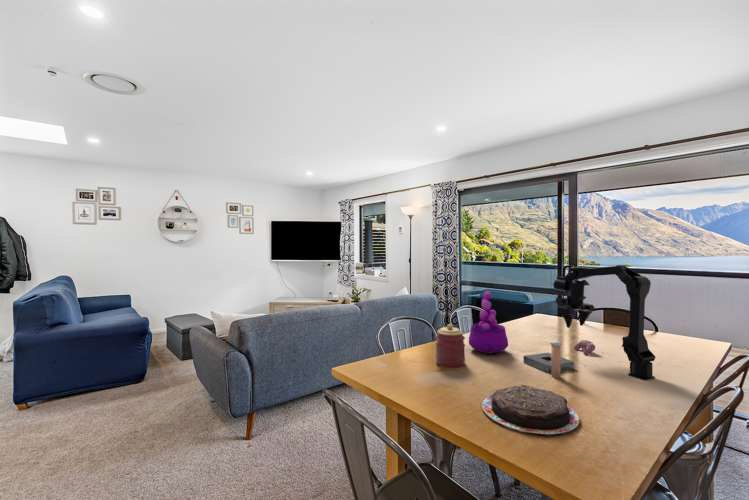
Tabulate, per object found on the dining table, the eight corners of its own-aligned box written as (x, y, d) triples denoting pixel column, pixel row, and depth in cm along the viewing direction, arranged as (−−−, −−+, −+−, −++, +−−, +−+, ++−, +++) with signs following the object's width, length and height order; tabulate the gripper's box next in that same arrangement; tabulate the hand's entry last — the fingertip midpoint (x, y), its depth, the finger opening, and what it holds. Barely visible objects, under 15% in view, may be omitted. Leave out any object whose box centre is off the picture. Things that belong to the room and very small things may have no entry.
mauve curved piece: (592, 358, 167) (598, 345, 167) (583, 354, 167) (590, 341, 167) (580, 352, 177) (586, 340, 177) (572, 348, 177) (578, 335, 177)
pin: (564, 378, 139) (563, 342, 139) (556, 379, 137) (555, 343, 137) (555, 374, 143) (555, 340, 142) (548, 375, 141) (547, 341, 141)
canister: (462, 358, 164) (462, 321, 164) (467, 368, 151) (466, 327, 151) (434, 358, 165) (434, 320, 165) (436, 367, 152) (436, 327, 152)
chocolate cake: (465, 414, 110) (465, 393, 110) (505, 388, 130) (505, 371, 130) (561, 450, 90) (561, 425, 90) (591, 413, 110) (591, 392, 110)
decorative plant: (511, 358, 164) (510, 294, 164) (470, 356, 168) (469, 293, 168) (504, 346, 183) (504, 289, 183) (467, 345, 186) (467, 288, 186)
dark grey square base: (574, 368, 149) (574, 361, 149) (548, 372, 144) (548, 365, 144) (548, 359, 162) (548, 352, 162) (523, 362, 158) (523, 355, 158)
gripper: (573, 289, 175) (571, 320, 176) (547, 291, 167) (546, 324, 168) (596, 293, 164) (593, 326, 166) (569, 296, 156) (567, 330, 158)
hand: (574, 326), depth 164 cm, fingers open, 9 cm apart
